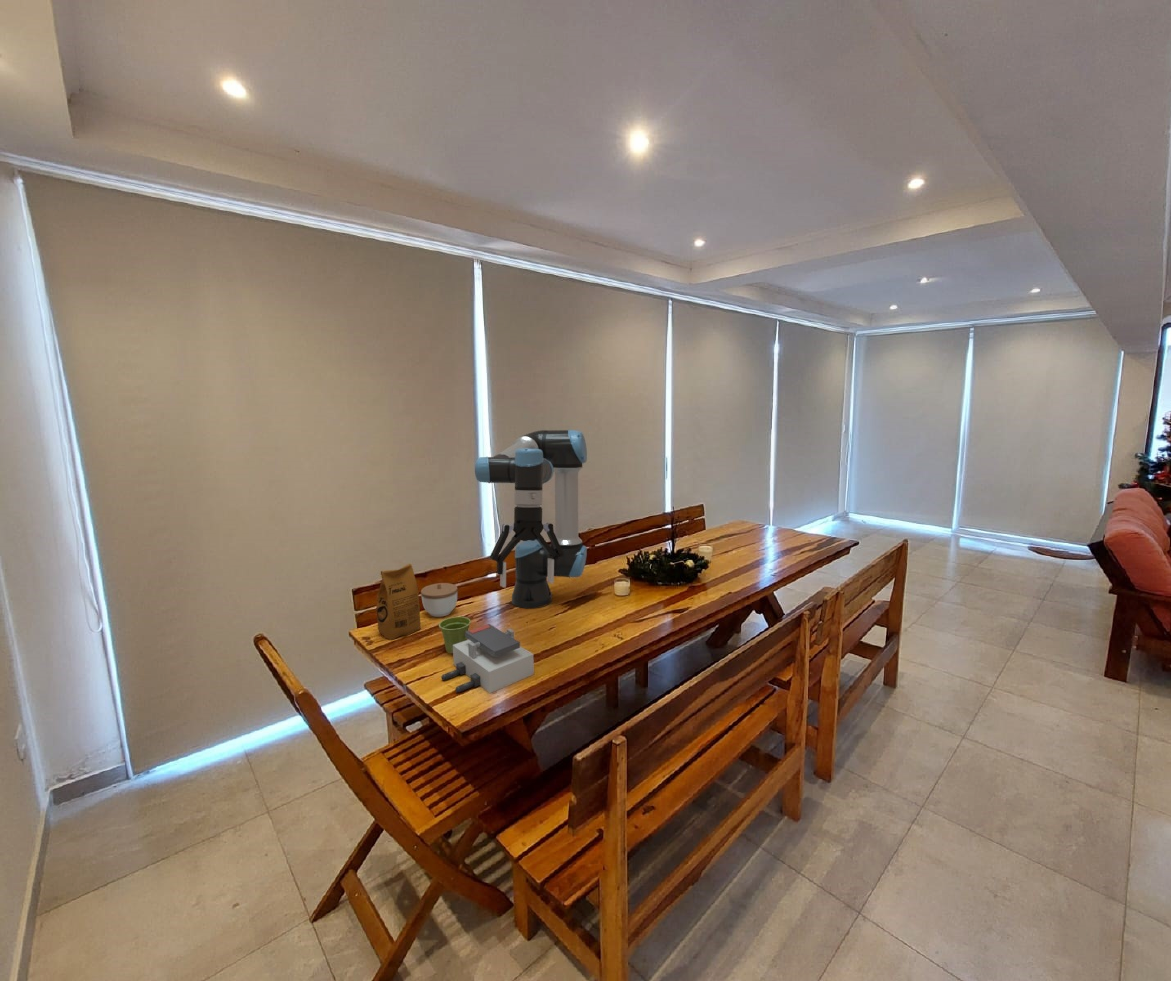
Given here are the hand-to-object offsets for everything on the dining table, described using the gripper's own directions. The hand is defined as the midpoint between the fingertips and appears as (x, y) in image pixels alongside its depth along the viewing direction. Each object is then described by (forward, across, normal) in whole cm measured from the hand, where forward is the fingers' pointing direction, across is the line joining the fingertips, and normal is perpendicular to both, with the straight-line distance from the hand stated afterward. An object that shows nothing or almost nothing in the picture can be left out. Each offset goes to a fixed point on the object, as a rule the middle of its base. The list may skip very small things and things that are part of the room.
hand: (527, 584), depth 138 cm
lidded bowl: (+21, -12, +57) cm, 62 cm away
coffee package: (+23, -27, +48) cm, 59 cm away
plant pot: (+24, -13, +27) cm, 38 cm away
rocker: (+17, -7, +9) cm, 20 cm away
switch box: (+26, -9, +9) cm, 29 cm away
